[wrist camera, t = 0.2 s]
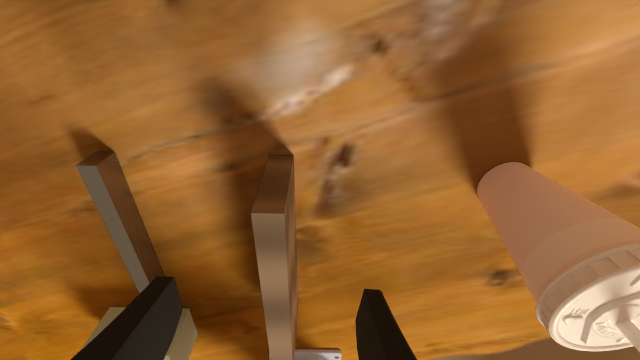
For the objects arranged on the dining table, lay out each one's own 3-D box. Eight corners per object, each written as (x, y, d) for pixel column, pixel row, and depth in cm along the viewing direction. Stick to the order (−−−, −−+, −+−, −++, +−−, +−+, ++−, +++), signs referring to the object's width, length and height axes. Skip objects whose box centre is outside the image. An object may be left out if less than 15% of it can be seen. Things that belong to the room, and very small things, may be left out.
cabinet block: (198, 332, 30) (181, 381, 26) (126, 331, 30) (98, 380, 26) (189, 306, 28) (168, 355, 24) (110, 305, 27) (77, 354, 24)
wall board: (297, 304, 27) (293, 374, 22) (281, 304, 27) (272, 374, 22) (293, 155, 19) (284, 213, 14) (269, 155, 19) (250, 213, 14)
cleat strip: (175, 303, 27) (166, 321, 26) (162, 303, 27) (153, 321, 25) (114, 152, 18) (96, 165, 17) (95, 151, 18) (75, 165, 17)
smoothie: (438, 202, 21) (597, 470, 9) (503, 127, 18) (874, 385, 6) (505, 230, 22) (717, 491, 10) (575, 165, 19) (989, 432, 7)
